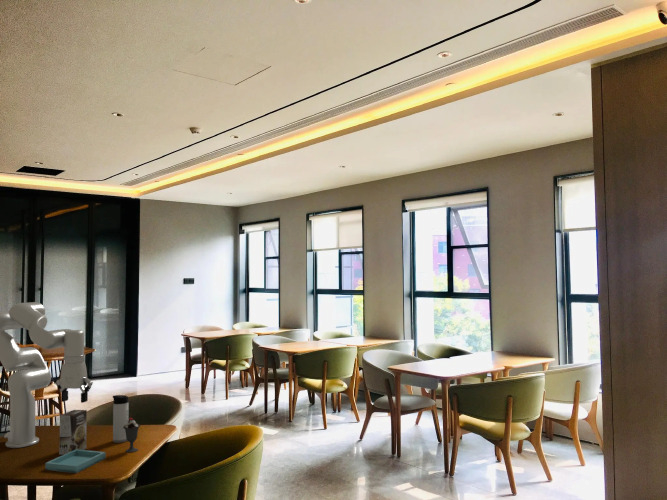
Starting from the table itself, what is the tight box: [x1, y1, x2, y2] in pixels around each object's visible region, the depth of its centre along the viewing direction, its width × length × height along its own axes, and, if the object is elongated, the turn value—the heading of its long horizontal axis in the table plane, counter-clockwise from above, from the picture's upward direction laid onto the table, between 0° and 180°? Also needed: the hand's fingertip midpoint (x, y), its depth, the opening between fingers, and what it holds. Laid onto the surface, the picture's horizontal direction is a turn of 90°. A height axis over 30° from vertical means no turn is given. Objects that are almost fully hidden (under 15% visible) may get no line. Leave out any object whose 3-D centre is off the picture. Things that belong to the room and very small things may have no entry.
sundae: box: [123, 413, 141, 454], centre depth 227 cm, size 7×7×15 cm
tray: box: [44, 449, 107, 474], centre depth 211 cm, size 14×16×2 cm
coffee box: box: [58, 409, 88, 456], centre depth 226 cm, size 9×6×16 cm
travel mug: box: [112, 394, 130, 444], centre depth 240 cm, size 6×7×20 cm
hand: (74, 401), depth 226 cm, fingers open, 9 cm apart
